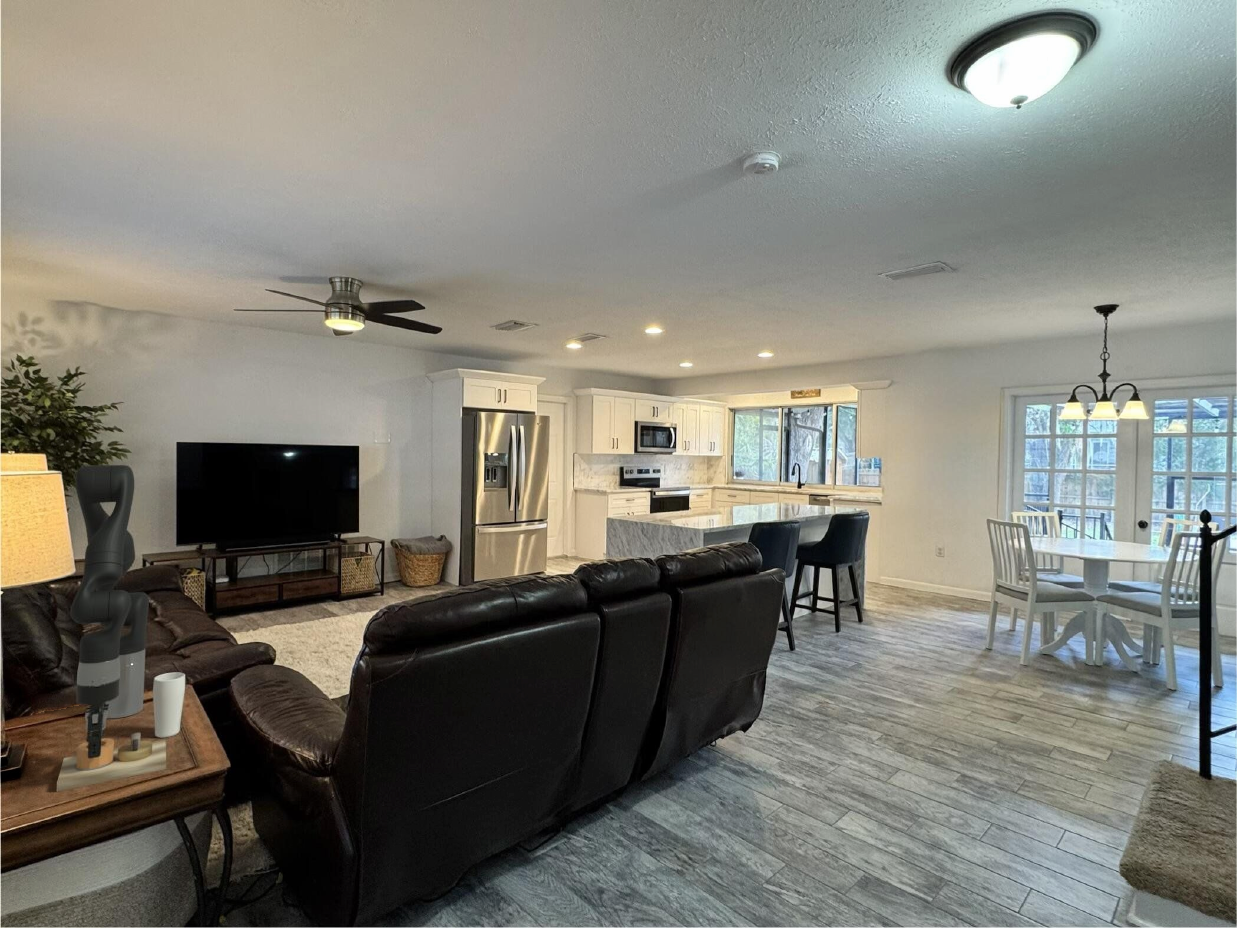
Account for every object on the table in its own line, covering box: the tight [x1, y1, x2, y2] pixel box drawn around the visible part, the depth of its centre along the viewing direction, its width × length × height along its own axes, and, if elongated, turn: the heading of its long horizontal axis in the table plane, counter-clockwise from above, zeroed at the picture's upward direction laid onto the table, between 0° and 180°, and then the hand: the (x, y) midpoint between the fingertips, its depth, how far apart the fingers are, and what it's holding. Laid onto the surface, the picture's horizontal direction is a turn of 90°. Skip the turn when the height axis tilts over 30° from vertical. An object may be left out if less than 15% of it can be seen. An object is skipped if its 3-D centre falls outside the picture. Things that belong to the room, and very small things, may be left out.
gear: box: [76, 737, 115, 769], centre depth 143 cm, size 6×6×4 cm
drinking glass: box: [152, 671, 186, 739], centre depth 163 cm, size 7×7×15 cm
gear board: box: [56, 732, 167, 792], centre depth 145 cm, size 13×19×7 cm
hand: (95, 749), depth 143 cm, fingers open, 8 cm apart
